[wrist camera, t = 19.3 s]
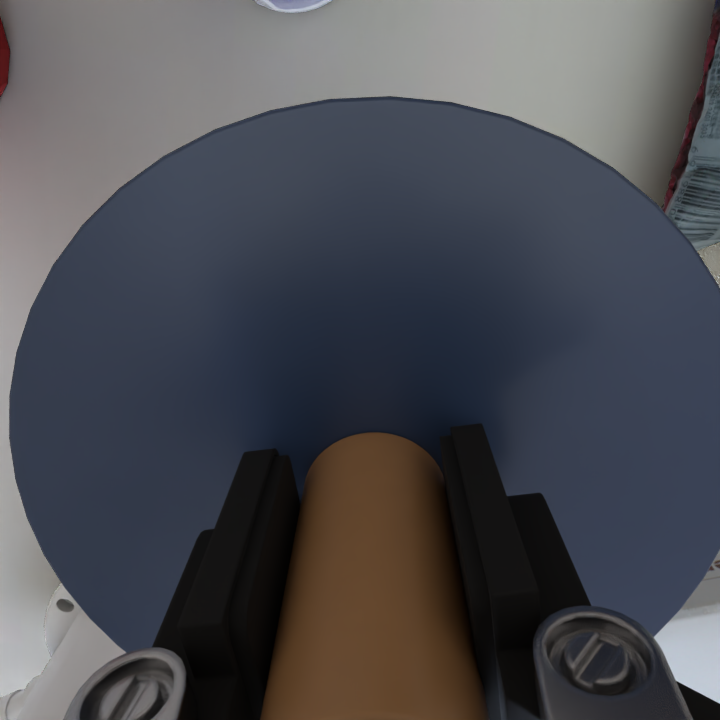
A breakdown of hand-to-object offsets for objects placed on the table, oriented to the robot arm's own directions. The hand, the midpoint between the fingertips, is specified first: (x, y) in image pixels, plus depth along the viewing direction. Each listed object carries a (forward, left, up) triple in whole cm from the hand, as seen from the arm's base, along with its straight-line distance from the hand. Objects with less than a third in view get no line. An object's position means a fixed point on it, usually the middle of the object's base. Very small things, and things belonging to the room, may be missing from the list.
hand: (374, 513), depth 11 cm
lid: (0, 0, -1) cm, 1 cm away
